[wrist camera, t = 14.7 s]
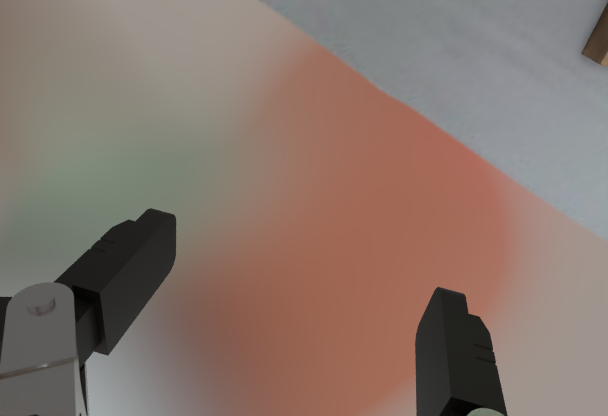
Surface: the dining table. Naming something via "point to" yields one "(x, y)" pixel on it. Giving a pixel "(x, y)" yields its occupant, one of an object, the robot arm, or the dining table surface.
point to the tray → (599, 41)
